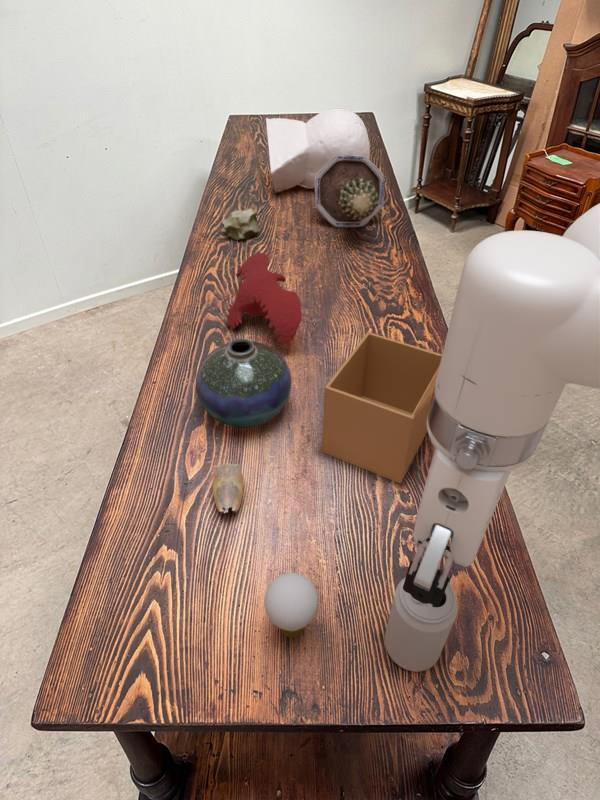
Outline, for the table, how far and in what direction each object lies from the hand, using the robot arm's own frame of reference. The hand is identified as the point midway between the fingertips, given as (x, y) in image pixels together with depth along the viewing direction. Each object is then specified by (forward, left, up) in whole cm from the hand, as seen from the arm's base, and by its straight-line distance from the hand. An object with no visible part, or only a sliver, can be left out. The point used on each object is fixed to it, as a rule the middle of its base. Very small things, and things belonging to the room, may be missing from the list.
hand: (439, 551), depth 48 cm
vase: (+38, -24, -20) cm, 49 cm away
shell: (+30, -7, -20) cm, 37 cm away
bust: (+71, -115, -20) cm, 136 cm away
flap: (+8, -29, -3) cm, 30 cm away
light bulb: (+13, +5, -20) cm, 24 cm away
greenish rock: (+74, -78, -20) cm, 109 cm away
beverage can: (0, 0, -20) cm, 20 cm away
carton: (+16, -29, -20) cm, 39 cm away
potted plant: (+51, -95, -20) cm, 110 cm away
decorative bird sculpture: (+50, -47, -20) cm, 72 cm away
